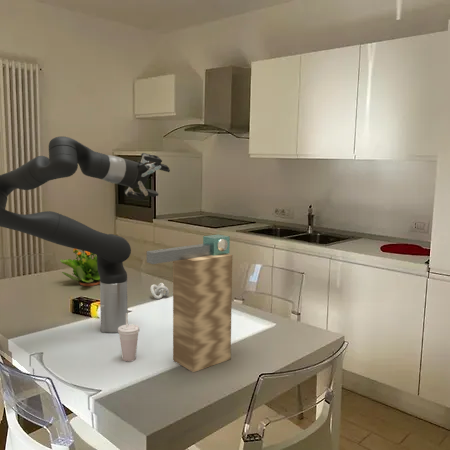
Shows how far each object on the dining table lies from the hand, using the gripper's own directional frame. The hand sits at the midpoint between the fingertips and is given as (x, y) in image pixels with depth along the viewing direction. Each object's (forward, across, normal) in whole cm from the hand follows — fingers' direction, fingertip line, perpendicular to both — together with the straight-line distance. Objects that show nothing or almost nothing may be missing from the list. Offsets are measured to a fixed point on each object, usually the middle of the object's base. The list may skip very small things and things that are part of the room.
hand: (162, 181), depth 147 cm
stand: (+13, +38, +38) cm, 55 cm away
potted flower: (+28, +79, -53) cm, 99 cm away
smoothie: (-2, +48, +26) cm, 55 cm away
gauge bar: (+1, +11, +25) cm, 27 cm away
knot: (+41, +59, -19) cm, 74 cm away
